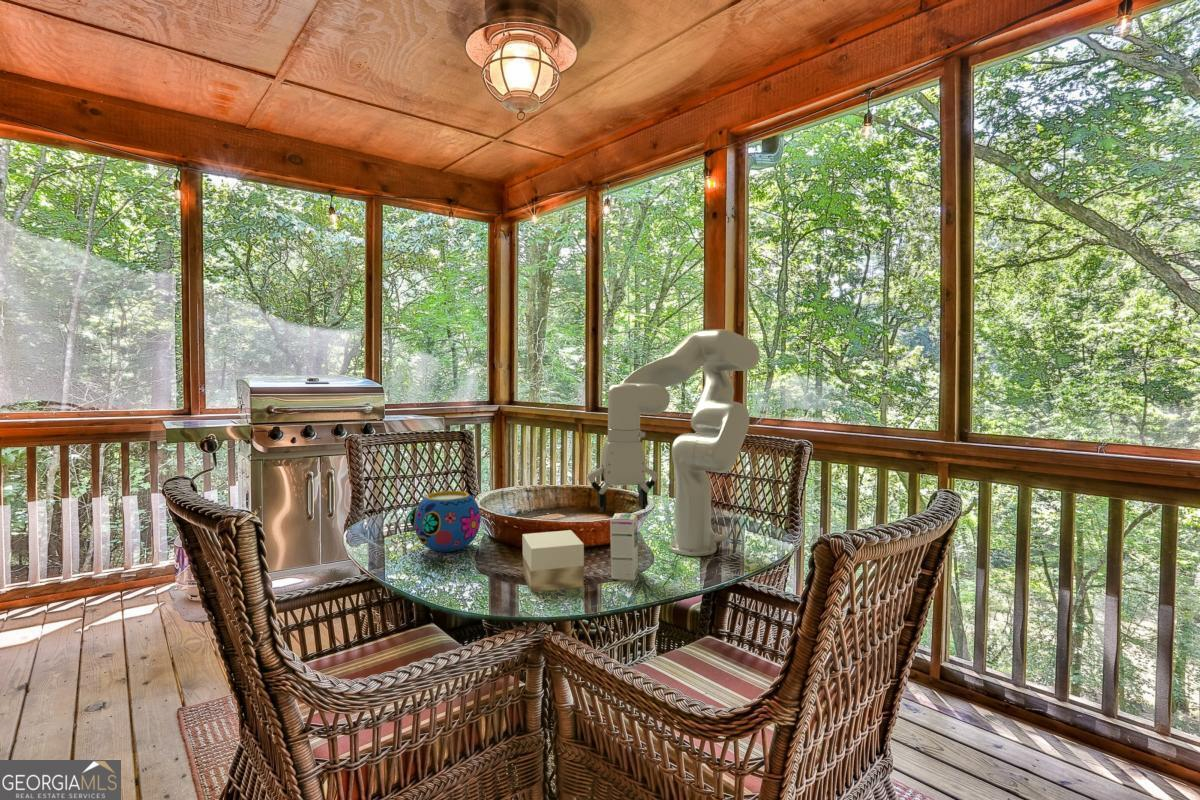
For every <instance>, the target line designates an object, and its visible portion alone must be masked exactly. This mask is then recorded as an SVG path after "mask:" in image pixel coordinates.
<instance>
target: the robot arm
mask: <svg viewBox="0 0 1200 800" xmlns="http://www.w3.org/2000/svg"><path fill="white" fill-rule="evenodd" d="M759 361H760V351H759V348H758V346H757V344H756V343H755V342H754V341H753V340H751V339H750V338H747V337H745V336H743V335H742V334H738V333H736V332H735V331H732V330H729V329H724V328H717V329H716V328H715V329H698V330H693V331H691V332H690V333H689V334H687V335H686V336H685V337H684V338H683V339H682V340H681V341H680V342H678V343H677V344H676V345H675V346H674V347H673V348H672V349H671V350H670V351H669V352H668V353H667V354H666V355H664V356H662V357H660V358H657V359H655V360H653V361H651V362H649V363H647V364H645V365H642V366H641V367H639V368H637V369H636V370H634V371H632V372H631V373H629V374H628V375H627V376H626V377H624V379H623V380H622V381H621V382H620V383H616V384H611V385H610V386H609V388H608V393H607V394H608V397H607V399H608V402H607V403H608V405H607V406H608V407H607V408H608V409H607V413H608V414H607V441H604V442H603V446H602V450H601V451H602V452H601V458H600V467H598V468H596V469H594V470H593V471H592V472H589V473H588V474H587V475H586V477H587V480H588V481H589V484H590V485H591V487H592V488H593V489H594V490H595V491H596V492H597V506H598V508H599V509H600V511H602V512H606V511H607V494H606V492H607V490H608V489H609V488H610V486H611V487H619V486H621V487H622V486H623V487H624V486H638V488H640V489H639V490H638V508H640V509H642V510H646V509H647V507H646V506H647V505H648V493H650V490H651V489H652V488H653V486H655V484H656V481H657V479H658V477H659V472H657V471H655V470H653V469H651V468H649V467H647V466H646V458H645V450H644V446H643V442H641V438H645V437H646V431H643V430H641V415H649V416H650V415H652V416H653V415H654V416H655V415H659V414H661V413H663V412H665V411H666V410H667V409H668V408H669V405H670V403H671V397H670V396H671V395H670V393H669V390H668V389H667V388H669V387H672V386H673V387H674V386H676V385H679V384H683V383H686V382H687V381H689V379H690V378H691V377H692V376H693V375H694V374H695V373H696V372H697V371H698V370H699V369H700V368H702V370H703V376H704V386H703V390H702V391H701V394H700V397H698V401H697V403H696V405H695V407H694V410H693V412H692V416H691V417H690V425H691V427H692V429H693V431H695V432H696V433H695V432H694V433H693V432H688V433H682V434H679V435H678V436H677V437H676V438H675V439H674V440H673V442H672V446H671V456H672V462H673V467H674V479H675V492H674V493H675V506H674V507H675V512H674V513H675V519H674V520H675V522H674V523H675V524H674V525H675V527H674V528H675V529H674V532H675V535H674V536H675V538H674V539H675V540H672V541H671V542H670V543H669V550H670V551H671V552H673V553H675V554H678V555H681V556H687V557H705V556H710V555H714V554H715V553H716V552H717V545H716V544H717V543H718V542H728V535H727V533H723V534H719V532H716V533H715V532H714V533H713V532H712V483H711V480H710V478H709V476H708V473H707V472H710V473H711V472H713V473H721V474H723V473H727V472H729V471H731V470H732V469H733V466H735V464H736V461H737V460H738V457H739V454H740V452H741V449H742V446H743V444H744V442H745V440H746V437H747V434H748V431H749V427H750V412H749V410H748V408H747V407H746V406H745V405H744V404H742V403H741V402H737V401H733V398H734V395H735V388H734V385H733V383H732V381H731V379H730V378H729V376H728V374H727V372H729V371H730V372H735V371H737V372H739V371H740V372H741V371H742V372H743V371H745V372H746V371H751V370H753V369H754V368H755V367H756V366H757V365H758V363H759ZM726 371H727V372H726ZM646 474H648V475H649V476H650V477H649V479H647V481H646ZM597 477H599V478H600V481H601V482H600V483H599V484H598V483H597V481H596V478H597ZM645 481H646V482H645Z"/></svg>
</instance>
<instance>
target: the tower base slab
mask: <svg viewBox="0 0 1200 800" xmlns="http://www.w3.org/2000/svg"><path fill="white" fill-rule="evenodd" d="M522 568H523V569H522V571H523V572H522V574H524V575H523V577H524V576H525V577H524V580H525V581H526V584H527V587H528V589H529V591H530V593H536V592H545V591H554V590H555V591H556V590H557V591H558V590H565V589H566V590H567V589H574V588H584V579H585V578H584V577H585V576H584V566H577V567H567V568H557V569H548V570H538V571H531V569H530V568H529V566H528V564H527V562H526V560H525V558H524V556H523V555H522Z"/></svg>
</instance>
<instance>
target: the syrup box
mask: <svg viewBox="0 0 1200 800" xmlns="http://www.w3.org/2000/svg"><path fill="white" fill-rule="evenodd" d="M609 523H610V525H609V528H610V529H609V530H610V532H609V533H610V575H611V576H610V578H611V579H613V580H619V581H620V580H621V581H635V579H636V578H637V575H638V574H639V546H638V545H639V542H638V541H639V537H638V534H639V533H638V514H636V513H630V512H621V513H619V512H615V513H614V514H613V516H612V517H611V518H610V519H609Z"/></svg>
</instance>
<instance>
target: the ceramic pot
mask: <svg viewBox="0 0 1200 800" xmlns="http://www.w3.org/2000/svg"><path fill="white" fill-rule="evenodd" d="M481 517H482V515H481V512H480V507H479V505H478V503H477V501H476V499H475V498H474V497H473V496H472V494H470V493H468V492H465V491H460V490H445V491H444V490H443V491H436V492H432V493H429V494H427V495H426V496H424V497H423V499H421V501H420V503H418V505H416V506H415V507H413V508H412V509H411V511H410V512H409V517H408V518H409V519H408V521H409V523H410V525H411V526H412V528H414V530H415V533H416V535H417V538H418V539H419V541H420V542H421V544H422V545H423V546H425V547H427V548H428V549H431V550H433V551H436V552H441V553H443V552H445V553H448V552H455V551H458V550H461V549H463V548H465V547H467V546H469V545H470V544H471V543H473V541H474V540H475V539H476V537H477V534H478V532H479V529H480V526H481V521H482V520H481V519H482V518H481Z"/></svg>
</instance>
